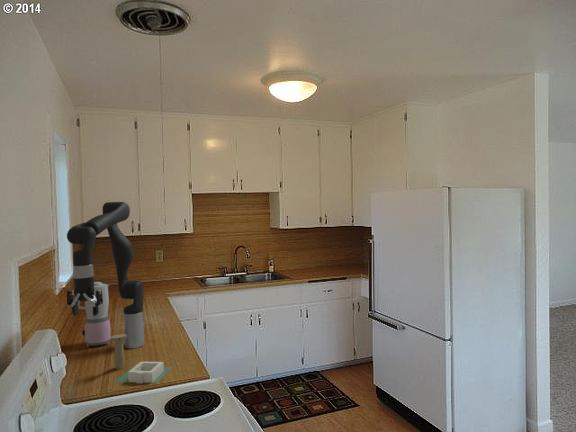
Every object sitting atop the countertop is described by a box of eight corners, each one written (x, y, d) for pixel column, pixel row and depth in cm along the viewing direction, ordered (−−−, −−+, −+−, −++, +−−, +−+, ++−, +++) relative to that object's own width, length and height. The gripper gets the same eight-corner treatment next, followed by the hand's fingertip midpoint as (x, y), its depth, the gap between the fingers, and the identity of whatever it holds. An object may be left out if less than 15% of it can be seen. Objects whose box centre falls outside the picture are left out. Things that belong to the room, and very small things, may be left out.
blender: (112, 338, 225) (109, 279, 224) (111, 345, 213) (108, 283, 213) (79, 342, 219) (77, 282, 218) (76, 350, 208) (74, 286, 207)
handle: (128, 370, 180) (127, 336, 180) (112, 373, 177) (111, 338, 177) (127, 366, 185) (126, 333, 184) (111, 369, 182) (110, 335, 181)
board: (133, 368, 182) (133, 366, 182) (172, 369, 180) (172, 366, 180) (113, 384, 167) (113, 381, 167) (156, 385, 165) (156, 382, 164)
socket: (141, 370, 177) (141, 361, 177) (163, 371, 176) (163, 362, 176) (127, 382, 165) (126, 373, 165) (151, 383, 164) (151, 373, 164)
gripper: (105, 274, 172) (107, 312, 173) (73, 274, 174) (75, 312, 174) (94, 277, 165) (96, 318, 165) (61, 277, 166) (63, 317, 167)
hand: (85, 315), depth 170 cm, fingers open, 8 cm apart
